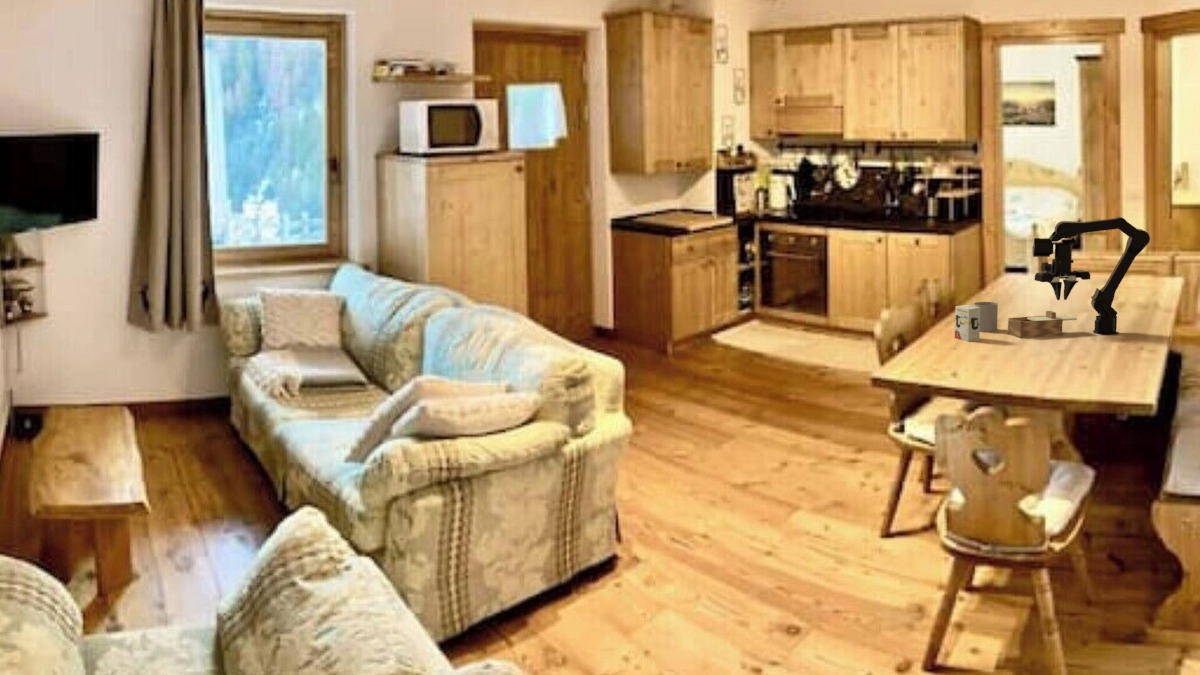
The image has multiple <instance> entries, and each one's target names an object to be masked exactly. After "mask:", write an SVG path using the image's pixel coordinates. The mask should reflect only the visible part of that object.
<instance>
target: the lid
mask: <svg viewBox="0 0 1200 675" xmlns="http://www.w3.org/2000/svg"><path fill="white" fill-rule="evenodd" d="M1041 316H1042V317H1032V316H1026V317H1027V319H1028V320H1032V321H1040V320H1056V319H1063V322H1065V321H1077V320H1078V318H1077V317H1074V316H1071V315H1068V314H1061V315H1057V312H1056V311H1052V310H1046V312H1045V315H1041Z"/></svg>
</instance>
